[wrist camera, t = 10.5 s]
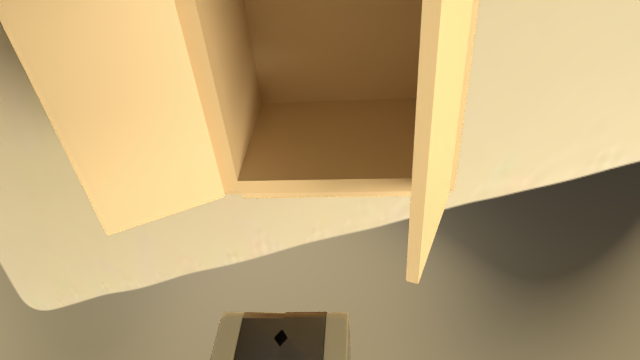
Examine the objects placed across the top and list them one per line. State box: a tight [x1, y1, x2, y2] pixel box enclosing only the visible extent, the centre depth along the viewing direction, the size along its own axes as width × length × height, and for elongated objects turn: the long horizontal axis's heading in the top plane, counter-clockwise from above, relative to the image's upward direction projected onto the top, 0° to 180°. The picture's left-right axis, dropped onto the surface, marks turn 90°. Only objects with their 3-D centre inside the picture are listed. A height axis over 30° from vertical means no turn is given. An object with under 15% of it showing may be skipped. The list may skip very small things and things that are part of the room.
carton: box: [174, 0, 479, 198], centre depth 27 cm, size 14×19×10 cm
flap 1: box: [0, 0, 225, 236], centre depth 23 cm, size 1×18×7 cm
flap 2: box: [406, 0, 473, 284], centre depth 20 cm, size 1×18×7 cm, turn 4°
